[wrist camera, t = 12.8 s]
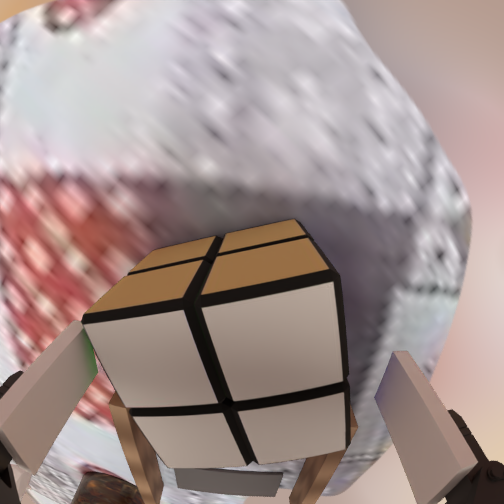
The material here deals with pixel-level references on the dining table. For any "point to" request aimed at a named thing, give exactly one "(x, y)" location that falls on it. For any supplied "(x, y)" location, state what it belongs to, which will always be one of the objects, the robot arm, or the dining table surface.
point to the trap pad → (228, 481)
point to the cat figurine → (21, 480)
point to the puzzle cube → (230, 349)
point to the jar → (106, 490)
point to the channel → (150, 479)
